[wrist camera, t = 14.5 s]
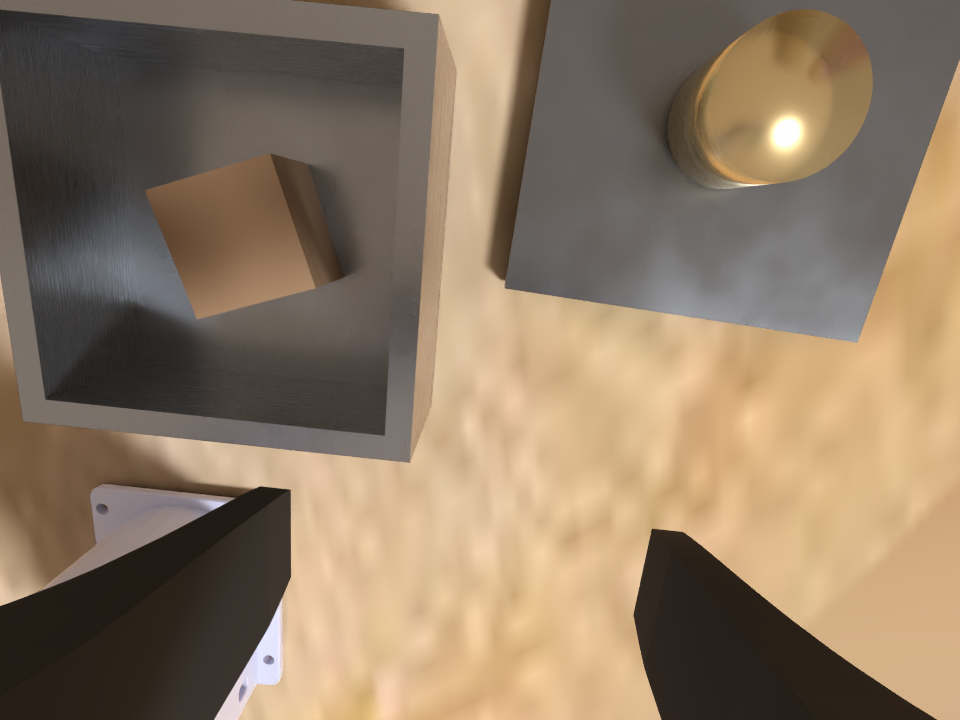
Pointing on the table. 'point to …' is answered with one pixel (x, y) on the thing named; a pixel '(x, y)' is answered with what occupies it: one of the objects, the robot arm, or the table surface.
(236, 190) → the copper block
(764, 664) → the robot arm
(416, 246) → the tin
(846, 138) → the lid
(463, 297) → the table surface
